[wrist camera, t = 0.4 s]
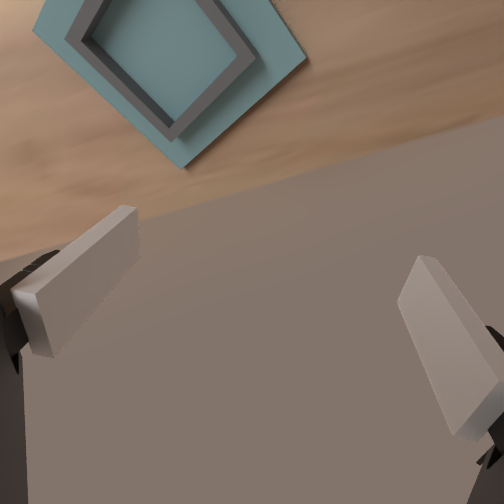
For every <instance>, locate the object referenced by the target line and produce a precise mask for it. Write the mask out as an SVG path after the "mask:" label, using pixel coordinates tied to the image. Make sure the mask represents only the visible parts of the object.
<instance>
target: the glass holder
mask: <svg viewBox="0 0 504 504" xmlns="http://www.w3.org/2000/svg"><path fill="white" fill-rule="evenodd" d="M32 31H33V32H34V33H35V34H36V35H37V36H38V37H39V38H40V39H41V40H42V41H44V42H45V43H46V44H47V45H48V46H49V47H50V48H51V49H52V50H53V51H54V52H55V53H56V54H57V55H59V56H60V57H61V58H62V59H63V60H64V61H65V62H66V63H67V64H68V65H69V66H70V67H71V68H72V69H73V70H75V71H76V72H77V73H78V74H79V75H80V76H81V77H82V78H83V79H84V80H85V81H86V82H87V83H88V84H89V85H91V86H92V87H93V88H94V89H95V90H96V91H97V92H98V93H99V94H100V95H101V96H102V97H103V98H104V99H106V100H107V101H108V102H109V103H110V104H111V105H112V106H113V107H114V108H115V109H116V110H117V111H118V112H119V113H120V114H122V115H123V116H124V117H125V118H126V119H127V120H128V121H129V122H130V123H131V124H132V125H133V126H134V127H135V128H136V129H138V130H139V131H140V132H141V133H142V134H143V135H144V136H145V137H146V138H147V139H148V140H149V141H150V142H151V143H153V144H154V145H155V146H156V147H157V148H158V149H159V150H160V151H161V152H162V153H163V154H164V155H165V156H166V157H167V158H169V159H170V160H171V161H172V162H173V163H174V164H175V165H176V166H177V167H178V168H179V169H180V170H181V169H182V168H183V167H184V166H185V165H187V164H188V163H189V162H190V161H191V160H192V159H193V158H194V157H195V156H197V155H198V154H199V153H200V152H201V151H202V150H203V149H204V148H206V147H207V146H208V145H209V144H210V143H211V142H212V141H213V140H215V139H216V138H217V137H218V136H219V135H220V134H221V133H222V132H224V131H225V130H226V129H227V128H228V127H229V126H230V125H231V124H232V123H234V122H235V121H236V120H237V119H238V118H239V117H240V116H241V115H243V114H244V113H245V112H246V111H247V110H248V109H249V108H250V107H252V106H253V105H254V104H255V103H256V102H257V101H258V100H259V99H260V98H262V97H263V96H264V95H265V94H266V93H267V92H268V91H269V90H271V89H272V88H273V87H274V86H275V85H276V84H277V83H278V82H280V81H281V80H282V79H283V78H284V77H285V76H286V75H287V74H289V73H290V72H291V71H292V70H293V69H294V68H295V67H296V66H297V65H299V64H300V63H301V62H302V61H303V60H304V59H305V58H306V54H305V52H304V51H303V49H302V48H301V46H300V44H299V43H298V41H297V40H296V38H295V37H294V35H293V34H292V32H291V31H290V29H289V28H288V26H287V25H286V23H285V22H284V20H283V19H282V17H281V16H280V14H279V13H278V11H277V10H276V8H275V7H274V5H273V4H272V2H271V1H270V0H46V1H45V3H44V5H43V8H42V10H41V12H40V14H39V17H38V19H37V21H36V23H35V26H34V28H33V30H32Z"/></svg>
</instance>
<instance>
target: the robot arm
mask: <svg viewBox="0 0 504 504" xmlns="http://www.w3.org/2000/svg"><path fill="white" fill-rule="evenodd" d="M140 257H141V252H140V239H139V226H138V212H137V208H136V207H130V206H124V205H121V206H120V207H118V208H117V209H116V210H114V211H113V212H112V213H110V214H109V215H108V216H106V217H105V218H104V219H102V220H101V221H100V222H98V223H97V224H96V225H94V226H93V227H92V228H90V229H89V230H88V231H87V232H85V233H84V234H83V235H81V236H80V237H79V238H77V239H76V240H75V241H73V242H72V243H71V244H69V245H68V246H67V247H65V248H64V249H63V250H61V251H60V250H54V251H52V252H49V253H47V254H44V255H42V256H41V257H39V258H38V259H36V260H35V261H34V262H32V263H31V265H28V266H27V267H25V268H24V269H23V271H20V272H18V273H17V274H15V275H14V276H13V277H11V278H10V279H9V280H7V281H6V282H4V283H3V284H2V285H0V504H28V488H27V464H26V440H25V415H24V391H23V368H22V356H21V353H20V349H22V348H23V347H24V346H25V344H26V343H28V342H29V345H30V348H31V350H32V353H33V354H36V355H41V356H45V357H51V358H55V357H56V356H57V355H58V353H59V352H60V351H61V350H62V349H63V347H64V346H65V345H66V344H67V343H68V342H69V341H70V339H71V338H72V337H73V336H74V335H75V333H76V332H77V331H78V330H79V329H80V328H81V326H82V325H83V324H84V323H85V322H86V321H87V319H88V318H89V317H90V316H91V315H92V314H93V312H94V311H95V310H96V309H97V308H98V306H99V305H100V304H101V303H102V302H103V301H104V299H105V298H106V297H107V296H108V295H109V294H110V292H111V291H112V290H113V289H114V288H115V287H116V285H117V284H118V283H119V282H120V281H121V280H122V278H123V277H124V276H125V275H126V274H127V272H128V271H129V270H130V269H131V268H132V267H133V265H134V264H135V263H136V262H137V261H138V260H139V258H140ZM397 304H398V306H399V309H400V311H401V314H402V316H403V319H404V321H405V323H406V326H407V328H408V331H409V333H410V335H411V338H412V340H413V343H414V345H415V347H416V349H417V352H418V354H419V357H420V359H421V362H422V364H423V367H424V369H425V371H426V374H427V376H428V379H429V381H430V383H431V386H432V388H433V391H434V393H435V395H436V398H437V400H438V402H439V405H440V407H441V410H442V412H443V415H444V417H445V419H446V422H447V424H448V427H449V429H450V432H451V434H452V436H453V437H455V438H461V439H465V440H470V441H475V442H478V441H479V440H480V439H481V438H482V437H483V436H484V435H485V433H486V432H487V431H488V432H489V433H490V435H491V437H492V439H493V441H494V443H495V444H494V445H493V446H492V447H491V448H490V449H489V450H488V451H487V452H486V453H485V454H484V455H483V456H482V457H481V458H480V459H479V460H478V461H477V462H476V463H477V464H479V465H481V464H482V463H483V465H482V468H481V470H480V472H479V475H478V477H477V480H476V482H475V485H474V487H473V489H472V492H471V494H470V497H469V499H468V502H467V504H504V337H503V336H502V335H501V334H499V333H498V332H497V331H495V329H493V328H492V327H491V326H485V325H484V324H483V323H482V321H481V320H480V319H479V317H478V316H477V314H476V313H475V312H474V310H473V309H472V308H471V306H470V305H469V303H468V302H467V301H466V299H465V298H464V297H463V295H462V294H461V292H460V291H459V289H458V288H457V287H456V285H455V284H454V283H453V281H452V280H451V278H450V277H449V276H448V274H447V273H446V271H445V270H444V269H443V267H442V266H441V264H440V263H439V262H438V261H437V259H436V258H433V257H427V256H420V255H419V256H418V258H417V260H416V262H415V264H414V266H413V268H412V271H411V273H410V275H409V277H408V279H407V281H406V283H405V285H404V288H403V290H402V292H401V294H400V296H399V298H398V300H397Z"/></svg>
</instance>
